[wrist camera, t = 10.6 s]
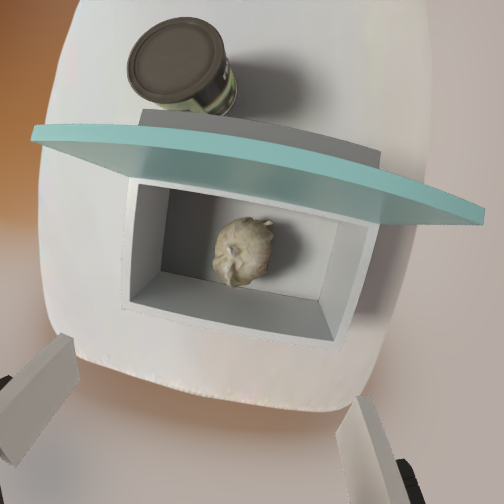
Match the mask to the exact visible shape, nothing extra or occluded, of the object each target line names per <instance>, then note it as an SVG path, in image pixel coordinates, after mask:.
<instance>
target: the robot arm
mask: <svg viewBox="0 0 504 504" xmlns="http://www.w3.org/2000/svg"><path fill="white" fill-rule="evenodd" d="M79 382H80V376H79V371H78V366H77V360H76V354H75V348H74V341H73V338H72V337H70V336H67V335H65V334H62V333H60V334H59V335H58V336H57V337H56V338H55V339H54V340H52V341H51V342H50V343H49V344H48V345H47V346H46V347H45V348H44V349H43V350H42V351H41V352H40V353H38V354H37V355H36V356H35V357H34V358H33V359H32V360H31V361H30V362H29V363H28V364H27V365H26V366H25V367H24V368H23V369H22V370H21V371H20V372H19V373H18V374H17V375H16V376H15V377H14V378H13V377H11V376H9V375H8V376H5V377H3V378H1V379H0V457H1V458H2V460H4V461H5V462H6V463H8V464H9V465H10V466H12V467H13V468H17V466H18V465H19V463H20V462H21V460H22V459H23V457H24V456H25V455H26V453H27V452H28V450H29V449H30V447H31V446H32V445H33V443H34V441H35V440H36V439H37V438H38V436H39V435H40V433H41V432H42V431H43V429H44V428H45V427H46V425H47V424H48V422H49V421H50V420H51V418H52V417H53V416H54V414H55V413H56V412H57V410H58V409H59V408H60V406H61V405H62V404H63V402H64V401H65V400H66V399H67V397H68V396H69V395H70V393H71V392H72V391H73V389H74V388H75V387H76V385H77V384H78V383H79ZM335 435H336V439H337V444H338V448H339V453H340V458H341V463H342V467H343V472H344V477H345V482H346V487H347V492H348V497H349V502H350V504H425V501H424V498H423V495H422V493H421V490H420V487H419V486H418V482H417V479H416V478H415V474H414V472H413V469H412V467H411V466H410V465H409V463H408V462H407V461H406V460H405V459H398V460H395V458H394V455H393V453H392V450H391V447H390V444H389V442H388V439H387V436H386V434H385V431H384V429H383V426H382V423H381V421H380V418H379V416H378V413H377V411H376V408H375V406H374V404H373V401H372V398H371V397H366V396H356V397H355V399H354V401H353V403H352V405H351V407H350V409H349V411H348V412H347V414H346V416H345V418H344V420H343V421H342V423H341V425H340V427H339V428H338V430H337V432H336V434H335ZM0 504H4V501H3V497H2V492H1V487H0Z"/></svg>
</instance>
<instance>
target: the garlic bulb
mask: <svg viewBox="0 0 504 504" xmlns="http://www.w3.org/2000/svg"><path fill="white" fill-rule="evenodd" d="M271 224H273V222H272V221H270V220H269V221H267V222H265V223H263V222H259V221H257V220H253V218H251V217H245V218H240V219H237V220H235V221H233V222H231V223H230V224H228V225H226V226H225V227H224V228H223V229H222V230H221V231H220V233H219V235H218V237H217V241H216V245H215V258H214V260H213V263H212V264H213V269H214V271H215V272H216V274H217V275H218V277H219V278H220V279H221V280H222V281H223V282H224V283H226V285H228V286H229V287H231V288H236V287H238V286H239V285H248V284H250V283H251V281H252V280H253V279H256V278H258V277H260V276H263V275H264V274H266V273H267V272H268V259H269V258H270V254H271V244H270V241H271V240H272V239H273V233H272V232H271V231H269V230H267V225H271Z"/></svg>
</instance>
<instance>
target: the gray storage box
mask: <svg viewBox="0 0 504 504" xmlns="http://www.w3.org/2000/svg"><path fill="white" fill-rule="evenodd" d="M171 188H172V189H178V190H185V191H191V192H197V193H203V194H209V195H215V196H221V197H226V198H232V199H237V200H243V201H248V202H254V203H259V204H264V205H269V206H274V207H279V208H284V209H289V210H294V211H299V212H303V213H308V214H313V215H317V216H322V217H326V218H331V219H335V220H339V225H338V229H337V233H336V237H335V241H334V245H333V249H332V253H331V257H330V261H329V265H328V269H327V273H326V276H325V280H324V284H323V287H322V291H321V294H320V298H319V301H314V300H308V299H302V298H296V297H290V296H285V295H279V294H274V293H268V292H263V291H257V290H252V289H247V288H242V287H236V288H231V287H229V286H228V285H226V284H221V283H216V282H211V281H206V280H201V279H196V278H192V277H187V276H182V275H177V274H173V273H168V272H164V271H161V263H162V253H163V243H164V235H165V226H166V218H167V210H168V203H169V196H170V189H171ZM379 226H380V224H376V223H372V222H368V221H364V220H360V219H356V218H352V217H348V216H343V215H339V214H335V213H330V212H326V211H322V210H317V209H312V208H308V207H303V206H298V205H294V204H289V203H284V202H279V201H274V200H269V199H264V198H259V197H253V196H248V195H243V194H237V193H231V192H226V191H220V190H214V189H208V188H202V187H196V186H190V185H183V184H177V183H170V182H163V181H156V180H149V179H142V178H134V177H130V178H129V186H128V194H127V202H126V212H125V222H124V234H123V249H122V269H121V308H122V309H126V310H130V311H133V312H137V313H141V314H145V315H149V316H152V317H156V318H160V319H164V320H169V321H173V322H177V323H181V324H186V325H190V326H194V327H199V328H204V329H208V330H213V331H218V332H223V333H228V334H233V335H238V336H244V337H249V338H255V339H260V340H266V341H272V342H279V343H285V344H292V345H298V346H306V347H313V348H321V349H329V350H337V351H340V350H341V348H342V345H343V342H344V340H345V337H346V334H347V332H348V329H349V326H350V323H351V320H352V317H353V314H354V312H355V309H356V306H357V303H358V299H359V296H360V293H361V290H362V287H363V284H364V280H365V277H366V274H367V270H368V267H369V263H370V260H371V256H372V253H373V249H374V245H375V241H376V238H377V234H378V230H379Z"/></svg>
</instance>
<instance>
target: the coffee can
mask: <svg viewBox="0 0 504 504" xmlns="http://www.w3.org/2000/svg"><path fill="white" fill-rule="evenodd" d="M127 77H128V80H129V83H130V85H131V87H132V88H133V90H134V91H135V92H136V93H137V94H138V95H139V96H141V97H143V98H144V99H146V100H148V101H151V102H153V103H155V104H157V105H158V106H160V107H162V108H163V109H165V110H169V111H182V112H192V113H202V114H210V115H218V116H224V115H225V114H226V113H227V112H228V111H229V110H230V109H231V107H232V105H233V104H234V102H235V99H236V96H237V83H236V80H235V77H234V75H233V73H232V70H231V67H230V64H229V61H228V58H227V56H226V53H225V49H224V44H223V40H222V38H221V36H220V34H219V32H218V31H217V30H216V29H215V28H214V27H213V26H212V25H211V24H209V23H208V22H206V21H203V20H201V19H198V18H192V17H179V18H173V19H169V20H166V21H163V22H161V23H159V24H157V25H155V26H154V27H152V28H151V29H149V30H148V31H147V32H145V33H144V34H143V35H142V36H141V37H140V38H139V40H138V41H137V42H136V44H135V45H134V47H133V48H132V50H131V52H130V55H129V58H128V62H127Z"/></svg>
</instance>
